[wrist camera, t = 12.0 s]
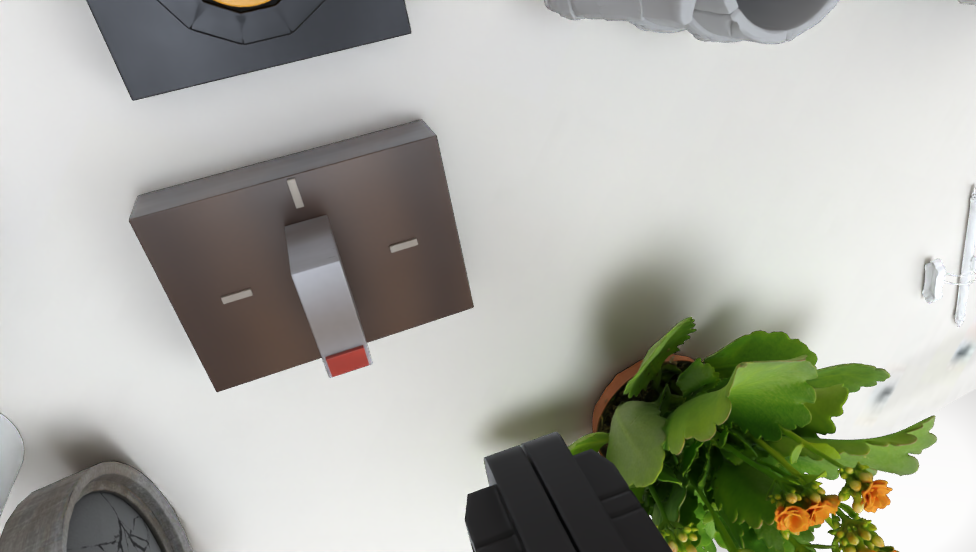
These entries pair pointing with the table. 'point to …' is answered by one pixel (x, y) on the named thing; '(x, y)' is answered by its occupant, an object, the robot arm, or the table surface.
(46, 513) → the magnifying glass
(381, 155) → the dial panel
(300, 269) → the dial knob
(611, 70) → the table surface
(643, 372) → the potted flower
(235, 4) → the button
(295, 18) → the button housing
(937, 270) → the picture light
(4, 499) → the cylindrical container
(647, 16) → the mug
